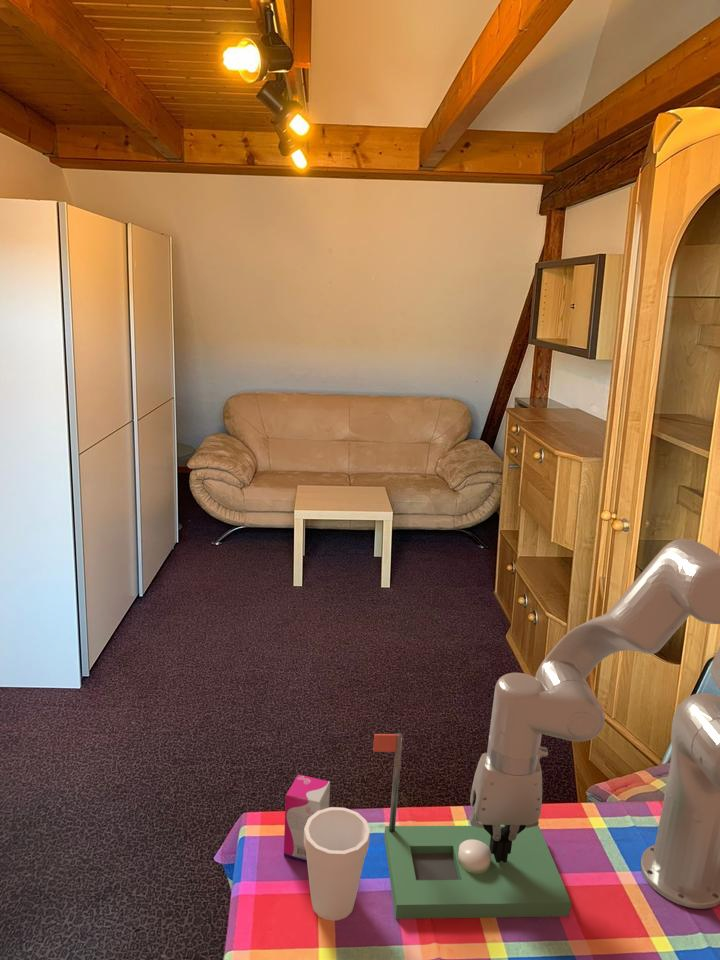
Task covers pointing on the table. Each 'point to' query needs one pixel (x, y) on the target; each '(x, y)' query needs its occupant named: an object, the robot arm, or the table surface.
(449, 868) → the putting mat
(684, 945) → the table surface
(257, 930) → the table surface
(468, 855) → the cream rounded stone
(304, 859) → the supplement box
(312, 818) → the foam cup
